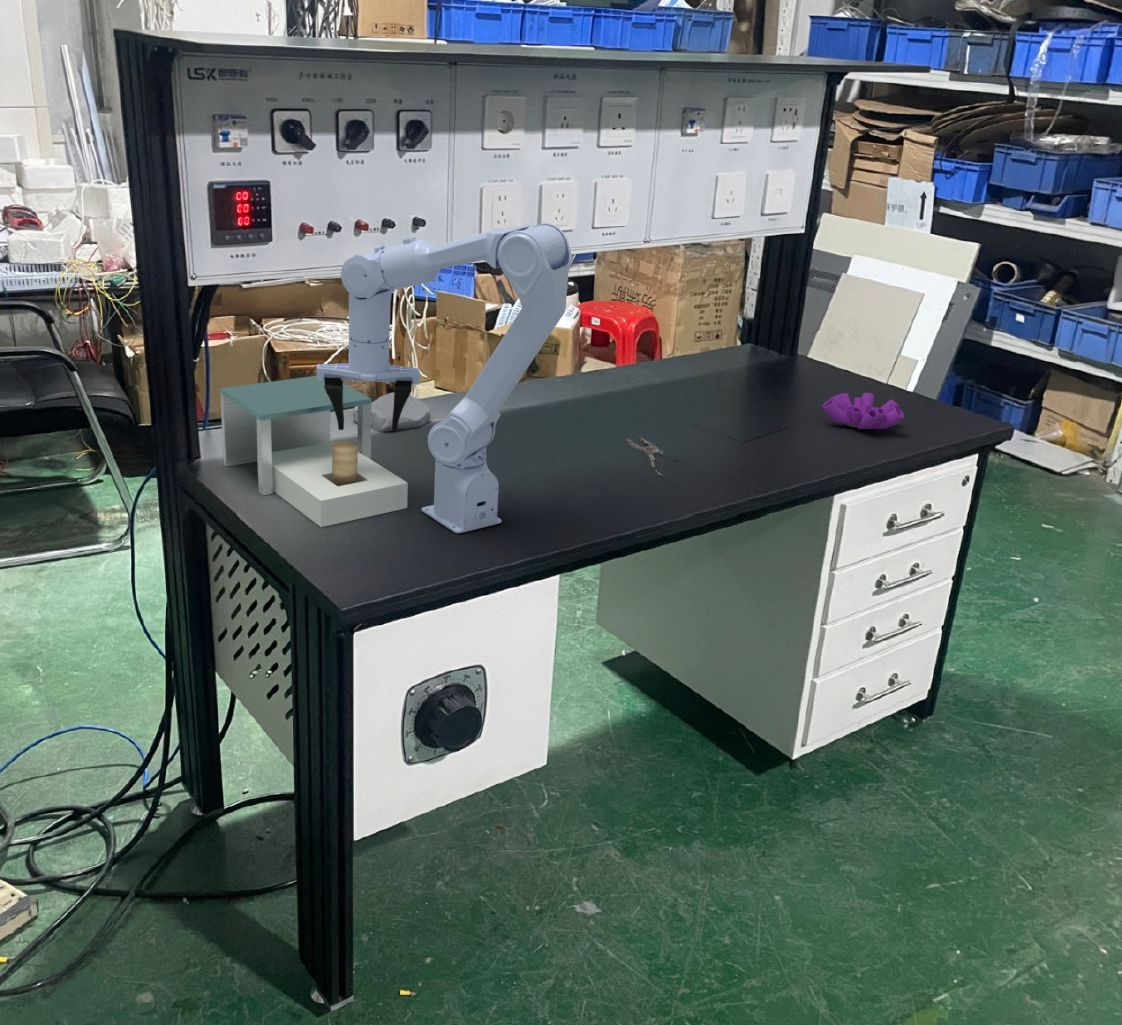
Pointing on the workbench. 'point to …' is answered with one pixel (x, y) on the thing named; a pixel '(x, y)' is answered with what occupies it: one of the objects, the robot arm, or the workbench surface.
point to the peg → (344, 463)
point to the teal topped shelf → (283, 421)
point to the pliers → (646, 449)
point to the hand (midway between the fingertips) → (367, 428)
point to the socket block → (334, 486)
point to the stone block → (382, 413)
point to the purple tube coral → (863, 411)
